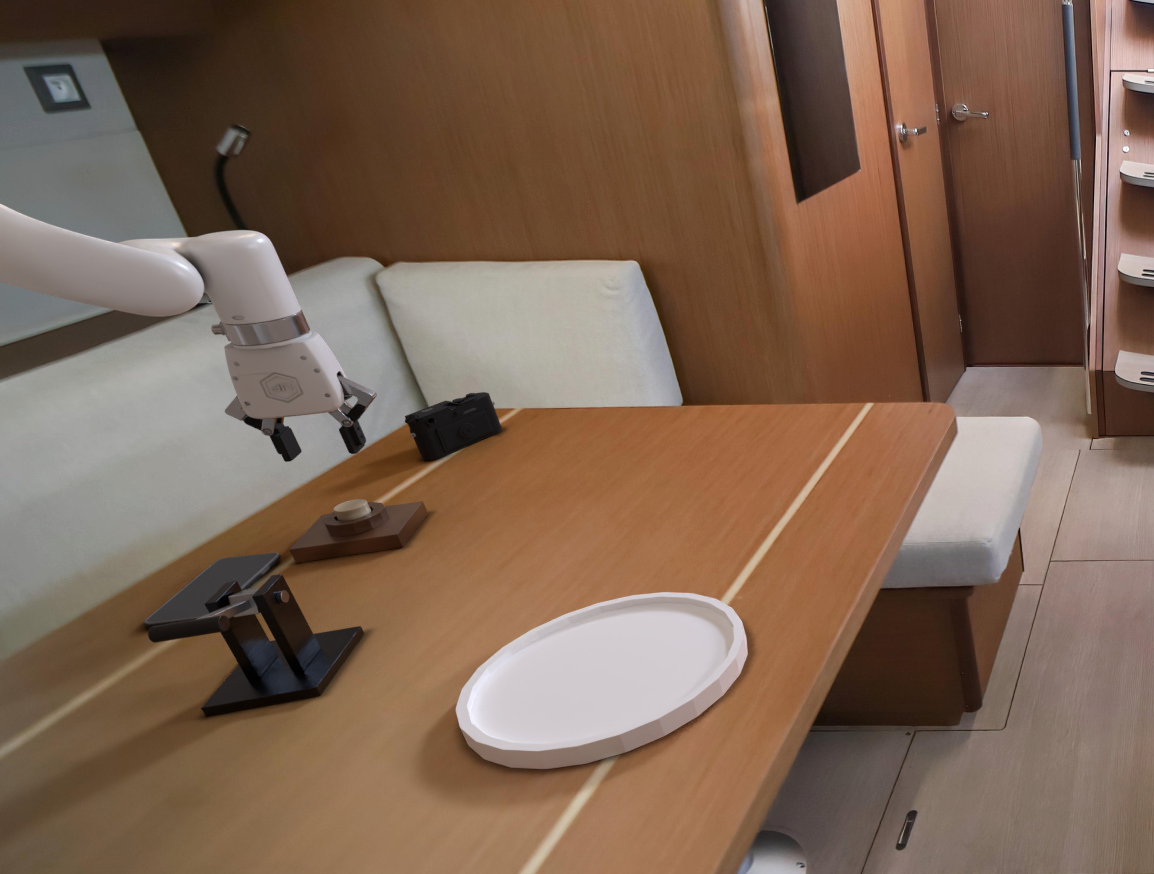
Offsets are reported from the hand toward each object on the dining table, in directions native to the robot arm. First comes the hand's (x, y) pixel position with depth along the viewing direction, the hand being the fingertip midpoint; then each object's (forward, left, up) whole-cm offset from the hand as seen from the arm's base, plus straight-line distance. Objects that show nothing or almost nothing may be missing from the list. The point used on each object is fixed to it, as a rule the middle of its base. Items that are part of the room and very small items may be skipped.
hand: (325, 452), depth 130 cm
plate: (+39, -47, -14) cm, 63 cm away
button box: (0, 0, -14) cm, 14 cm away
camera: (+2, +32, -14) cm, 35 cm away
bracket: (+4, -33, -14) cm, 36 cm away
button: (0, 0, -10) cm, 10 cm away
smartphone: (-12, -10, -14) cm, 21 cm away
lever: (+4, -38, -3) cm, 38 cm away
